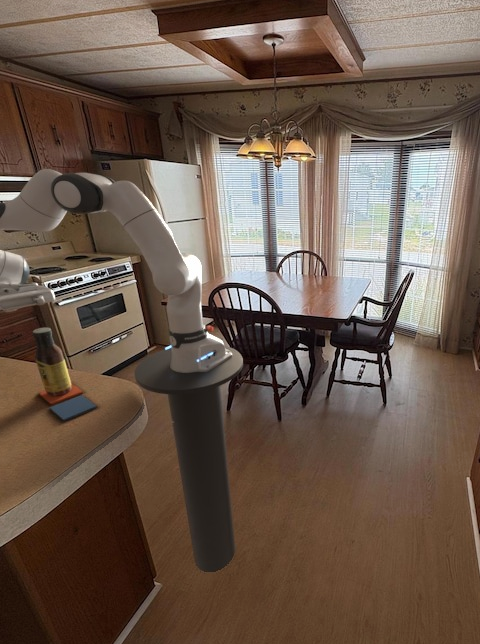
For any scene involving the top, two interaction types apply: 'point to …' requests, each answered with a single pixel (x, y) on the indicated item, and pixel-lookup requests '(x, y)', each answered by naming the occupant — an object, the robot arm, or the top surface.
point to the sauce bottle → (51, 363)
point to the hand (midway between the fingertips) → (21, 305)
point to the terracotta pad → (56, 399)
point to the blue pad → (73, 407)
